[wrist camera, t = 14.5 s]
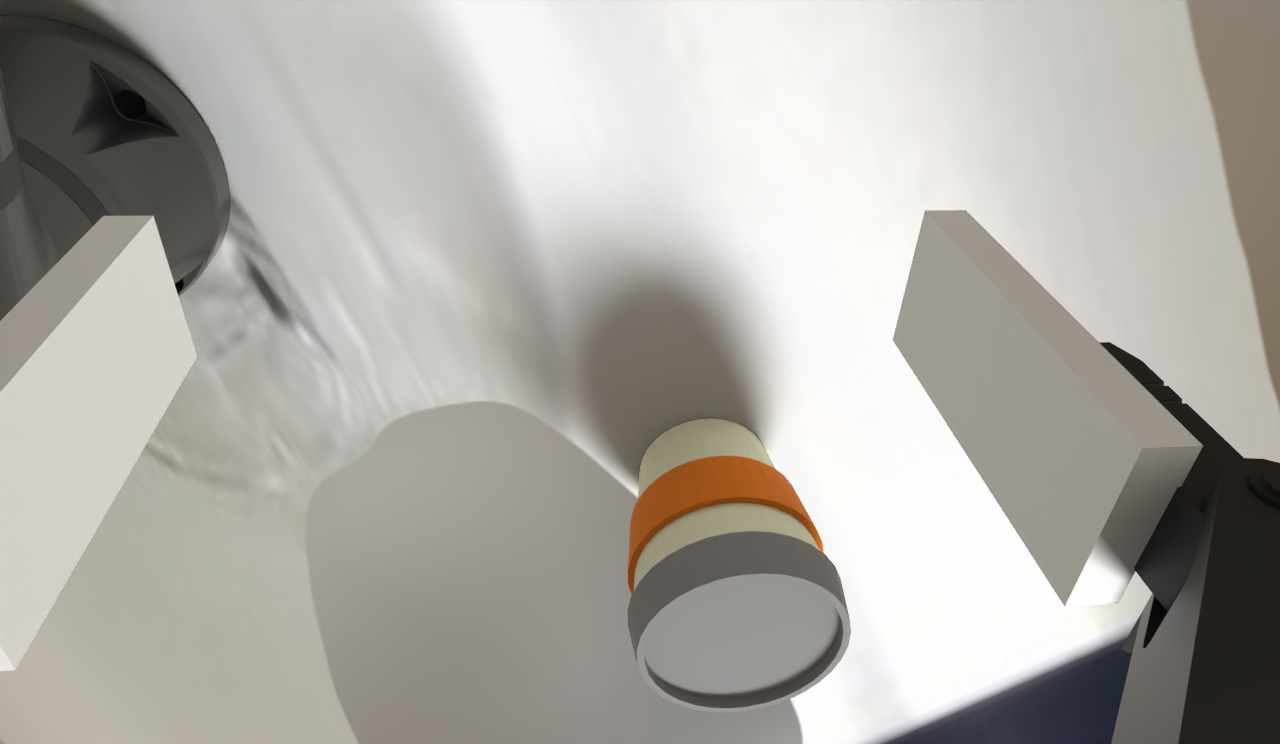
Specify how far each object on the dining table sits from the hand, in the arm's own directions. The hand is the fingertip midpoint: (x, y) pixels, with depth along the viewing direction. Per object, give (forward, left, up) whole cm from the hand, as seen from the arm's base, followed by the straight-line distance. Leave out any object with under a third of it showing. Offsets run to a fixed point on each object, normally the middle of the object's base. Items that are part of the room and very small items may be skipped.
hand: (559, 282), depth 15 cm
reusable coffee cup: (+12, -31, -31) cm, 46 cm away
